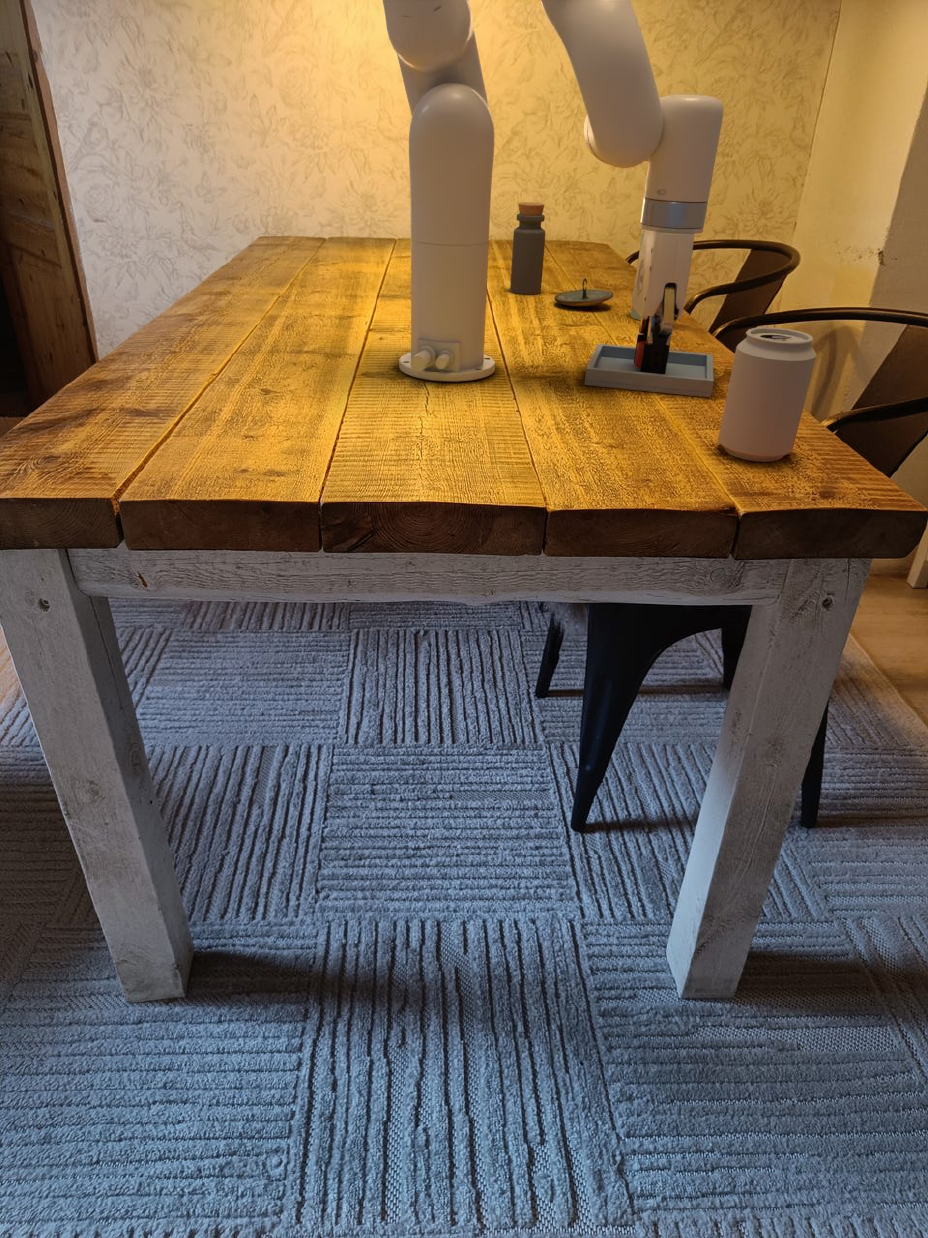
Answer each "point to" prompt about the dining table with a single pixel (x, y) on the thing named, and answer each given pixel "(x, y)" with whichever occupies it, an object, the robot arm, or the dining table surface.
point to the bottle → (528, 250)
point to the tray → (681, 376)
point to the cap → (639, 353)
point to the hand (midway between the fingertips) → (648, 369)
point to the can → (766, 393)
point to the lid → (583, 297)
